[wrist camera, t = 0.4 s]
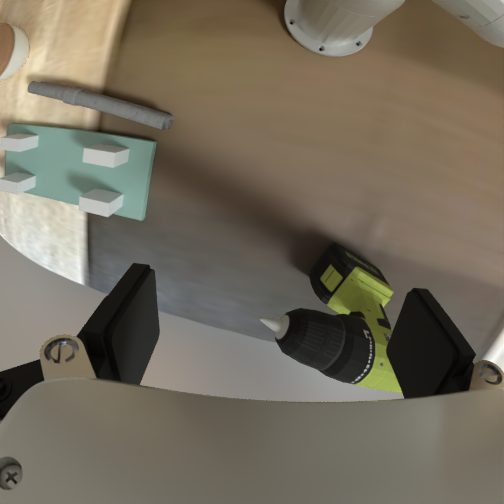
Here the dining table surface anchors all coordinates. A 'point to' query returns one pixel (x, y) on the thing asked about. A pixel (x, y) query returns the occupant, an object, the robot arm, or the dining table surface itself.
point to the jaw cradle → (79, 168)
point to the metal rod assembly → (102, 104)
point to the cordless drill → (342, 323)
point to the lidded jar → (12, 50)
